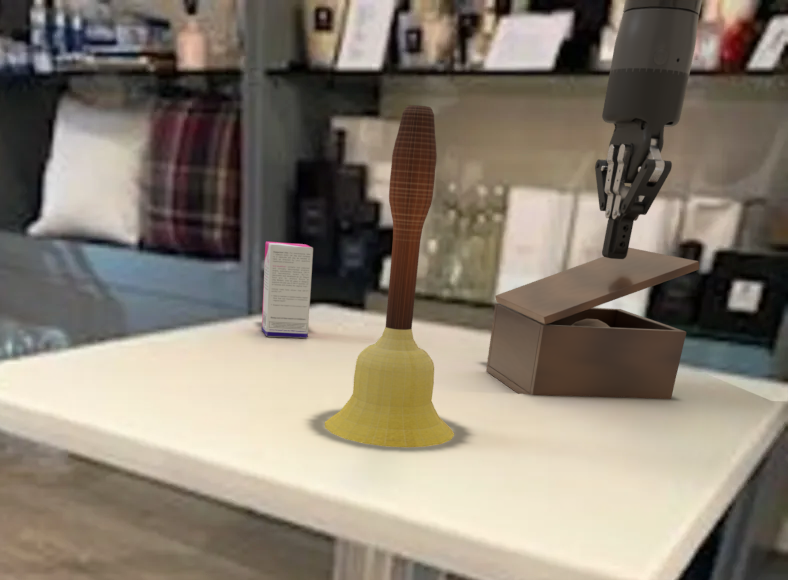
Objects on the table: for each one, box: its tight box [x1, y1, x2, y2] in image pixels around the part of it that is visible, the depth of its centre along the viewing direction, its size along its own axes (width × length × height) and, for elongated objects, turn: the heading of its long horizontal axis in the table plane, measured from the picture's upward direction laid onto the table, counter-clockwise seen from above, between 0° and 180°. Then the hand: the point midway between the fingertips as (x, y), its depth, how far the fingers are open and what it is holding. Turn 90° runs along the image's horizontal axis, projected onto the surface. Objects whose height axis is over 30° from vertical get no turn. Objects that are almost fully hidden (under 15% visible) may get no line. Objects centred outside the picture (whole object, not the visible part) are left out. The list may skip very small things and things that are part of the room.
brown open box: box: [485, 302, 687, 400], centre depth 97 cm, size 16×16×8 cm
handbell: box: [324, 104, 455, 448], centre depth 70 cm, size 12×12×25 cm
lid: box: [494, 247, 700, 325], centre depth 94 cm, size 16×16×1 cm
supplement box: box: [261, 240, 314, 339], centre depth 116 cm, size 6×6×12 cm
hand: (613, 257), depth 93 cm, fingers closed
